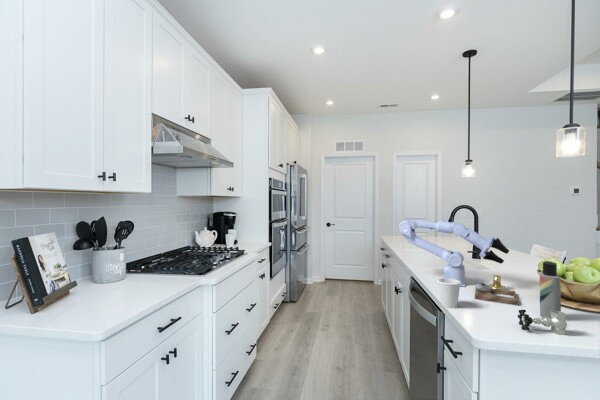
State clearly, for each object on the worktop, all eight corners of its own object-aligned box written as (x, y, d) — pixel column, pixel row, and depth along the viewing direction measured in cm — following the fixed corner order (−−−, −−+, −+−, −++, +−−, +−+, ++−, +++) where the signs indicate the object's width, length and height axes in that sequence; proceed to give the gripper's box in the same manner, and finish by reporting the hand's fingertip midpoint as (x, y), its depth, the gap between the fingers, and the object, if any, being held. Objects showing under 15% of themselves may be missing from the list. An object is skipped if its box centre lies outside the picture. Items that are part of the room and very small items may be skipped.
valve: (560, 329, 96) (517, 325, 99) (559, 309, 96) (517, 306, 99) (572, 338, 89) (526, 334, 92) (572, 317, 89) (526, 313, 92)
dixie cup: (433, 303, 120) (432, 279, 120) (447, 300, 123) (447, 277, 123) (450, 310, 112) (450, 284, 112) (465, 307, 115) (465, 282, 115)
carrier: (474, 299, 125) (474, 287, 125) (475, 289, 138) (475, 278, 138) (518, 305, 117) (518, 293, 117) (514, 294, 130) (514, 283, 130)
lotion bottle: (556, 315, 106) (555, 260, 106) (564, 321, 101) (563, 264, 101) (537, 313, 108) (536, 260, 108) (544, 319, 103) (543, 263, 103)
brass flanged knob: (488, 290, 137) (488, 276, 137) (488, 286, 143) (488, 273, 143) (506, 292, 133) (506, 278, 133) (505, 288, 139) (505, 275, 139)
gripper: (474, 243, 136) (504, 262, 130) (486, 226, 143) (515, 243, 137) (467, 252, 141) (496, 270, 135) (479, 235, 148) (507, 251, 142)
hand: (505, 257), depth 136 cm, fingers open, 7 cm apart
